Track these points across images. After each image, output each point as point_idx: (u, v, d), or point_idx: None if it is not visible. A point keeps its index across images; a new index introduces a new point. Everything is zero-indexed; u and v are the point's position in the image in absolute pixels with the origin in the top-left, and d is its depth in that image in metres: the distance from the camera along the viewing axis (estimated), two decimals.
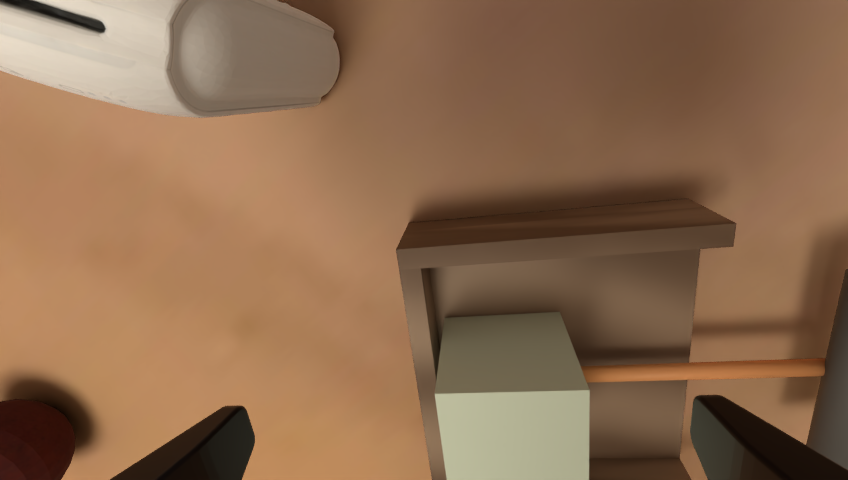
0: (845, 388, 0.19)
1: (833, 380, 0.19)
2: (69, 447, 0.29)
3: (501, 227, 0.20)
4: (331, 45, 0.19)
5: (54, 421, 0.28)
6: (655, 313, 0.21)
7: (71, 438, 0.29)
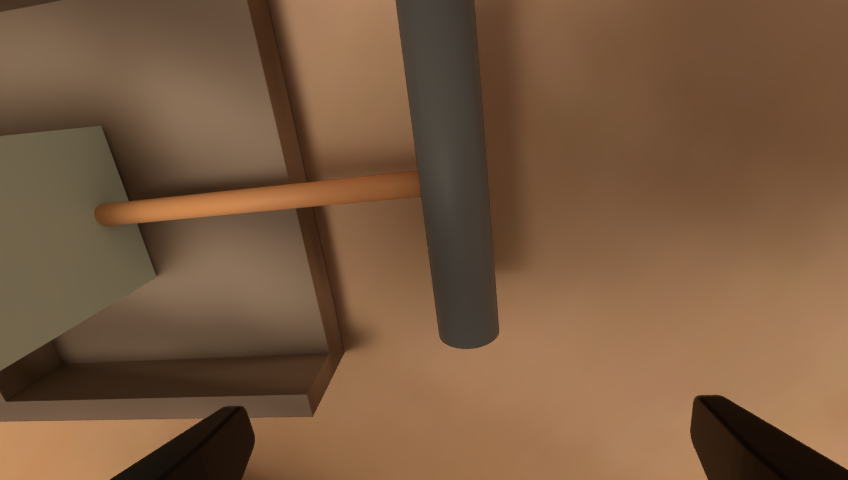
0: (426, 196, 0.12)
1: (420, 190, 0.12)
2: None
3: None
4: None
5: None
6: (225, 122, 0.15)
7: None
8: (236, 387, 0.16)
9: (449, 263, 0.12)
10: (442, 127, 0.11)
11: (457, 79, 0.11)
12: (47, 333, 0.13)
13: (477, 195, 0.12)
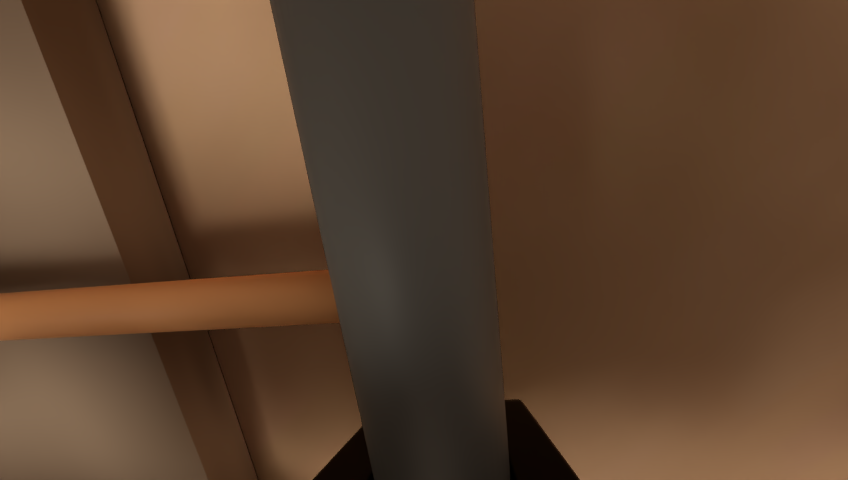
0: (350, 354, 0.05)
1: None
2: None
3: None
4: None
5: None
6: None
7: None
8: None
9: None
10: (373, 205, 0.04)
11: (413, 70, 0.04)
12: None
13: (473, 359, 0.05)
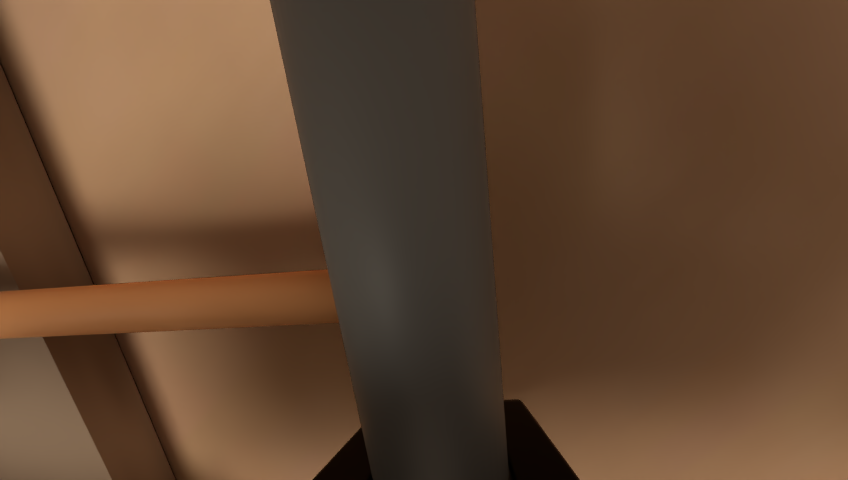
0: (349, 354, 0.05)
1: None
2: None
3: None
4: None
5: None
6: None
7: None
8: None
9: None
10: (374, 205, 0.04)
11: (413, 71, 0.04)
12: None
13: (472, 360, 0.05)
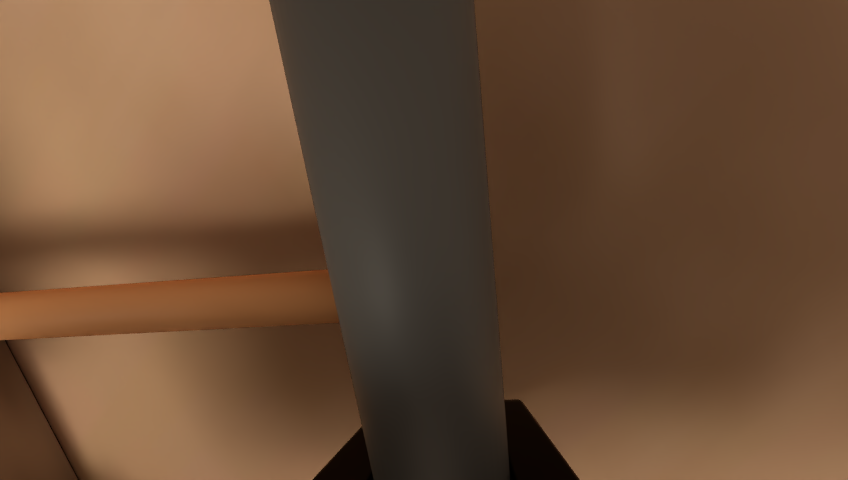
0: (349, 354, 0.05)
1: None
2: None
3: None
4: None
5: None
6: None
7: None
8: None
9: None
10: (374, 205, 0.04)
11: (412, 70, 0.04)
12: None
13: (473, 359, 0.05)
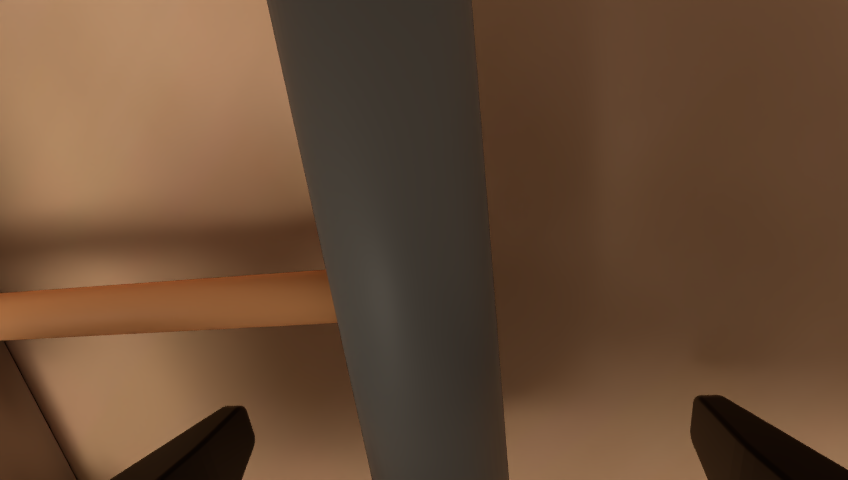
0: (347, 354, 0.05)
1: None
2: None
3: None
4: None
5: None
6: None
7: None
8: None
9: None
10: (371, 205, 0.04)
11: (410, 70, 0.04)
12: None
13: (471, 359, 0.05)
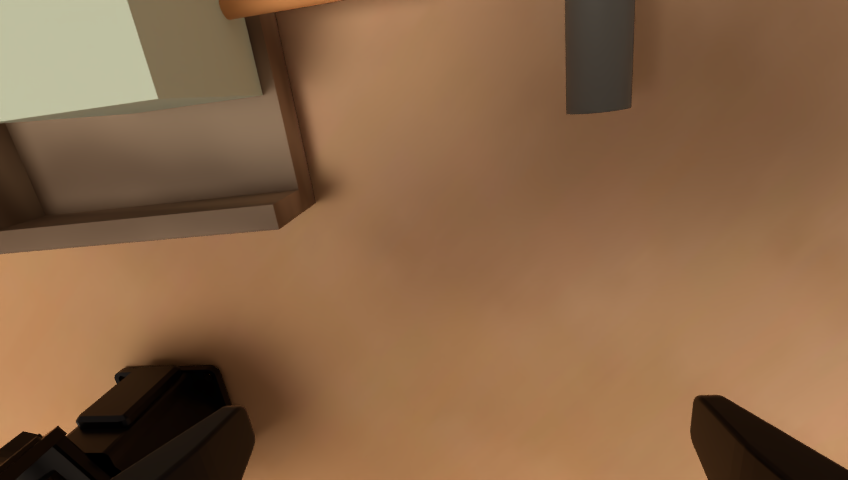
0: None
1: None
2: None
3: None
4: None
5: None
6: None
7: None
8: (207, 208, 0.17)
9: (597, 9, 0.12)
10: None
11: None
12: (189, 88, 0.13)
13: None
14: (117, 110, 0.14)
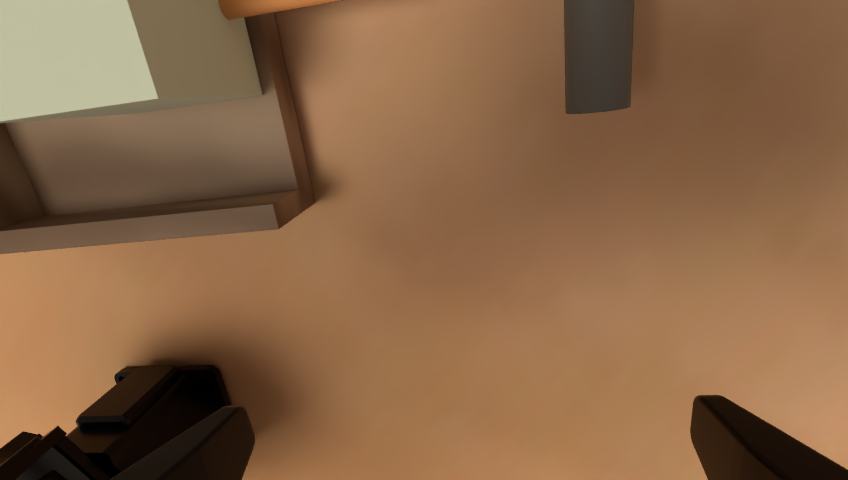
0: None
1: None
2: None
3: None
4: None
5: None
6: None
7: None
8: (207, 208, 0.17)
9: (596, 9, 0.12)
10: None
11: None
12: (189, 88, 0.13)
13: None
14: (117, 110, 0.14)
